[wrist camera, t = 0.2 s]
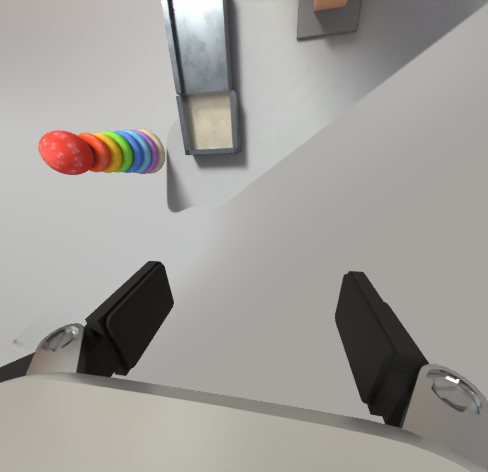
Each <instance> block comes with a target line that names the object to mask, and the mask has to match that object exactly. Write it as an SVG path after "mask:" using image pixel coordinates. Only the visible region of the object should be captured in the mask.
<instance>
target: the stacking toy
mask: <svg viewBox="0 0 488 472" xmlns="http://www.w3.org/2000/svg"><path fill="white" fill-rule="evenodd" d="M38 149H39V153H40V155H41V157H42V159H43V160H44V161H45V162H46V164H47V165H49V166H50V167H51V168H52V169H54V170H56V171H58V172H60V173H64V174H68V175H78V174H82V173H85V172H86V171H88V170H90V171H93V172H101V171H102V172H106V173H107V172H108V173H111V172H125V173H131V172H133V173H140V174H146V173H155V172H157V171H158V170H160V169H161V168H162V166H163V164H164V161H165V151H164V147H163V145H162V143H161V142H160V140H159V138H157V136H156V135H155V134H153V133H152V132H150V131H148V130H145V129H136V130H121V131H113V132H111V131H105V132H102V133H93V134H90V133H80V134H78V135H75V134H72V133H70V132H66V131H52V132H48V133H46V134H45V135H44V136H42V138H41V139H40V141H39V145H38Z"/></svg>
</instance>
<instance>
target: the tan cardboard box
mask: <svg viewBox="0 0 488 472" xmlns="http://www.w3.org/2000/svg"><path fill="white" fill-rule="evenodd" d="M347 1H348V0H314V11H318V10H325V9H331V8H338V7H344V6H345V5H346V3H347Z"/></svg>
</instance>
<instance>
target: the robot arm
mask: <svg viewBox="0 0 488 472" xmlns="http://www.w3.org/2000/svg"><path fill="white" fill-rule="evenodd" d="M173 304H174V301H173V297H172V293H171V289H170V286H169V282H168V278H167V274H166V270H165V267H164V265H163V264H162V263H161V262H158V261H149V262H147V263H146V264H145V265H144V266H143V267H142V268H141V269H140V270H138V271H137V272H136V273H135V274H134V275H133V276H132V277H131V278H130V279H129V280H128V281H127V282H125V283H124V284H123V285H122V286H121V287H120V288H119V289H118V290H117V291H115V293H113V294H112V295H111V296H110V297H109V298H108V299H107V300H106V301H105V302H104V303H102V304H101V305H100V306H99V307H98V308H97V309H96V310H95V311H94V312H93V313H91V314H90V315H89V316H88V317H87V318H86V319H85V320H86V322H87V324H86V326H85V327H84V326H82V325H81V324H78V323H75V324H69V325H66V326H63V327H61V328H59V329H57V330H55V331H53V332H52V333H50V334H49V335H48V336H46V337H45V338H44V339H43V340H42V341H41V342H40V344H39V345H38V347H37V349H36V351H35V352H34V353H32V354H30V355H28V356H25V357H23V358H21V359H18V360H16V361H14V362H12V363H9V364H7V365H5V366H2V367H1V368H0V472H488V401H487V400H486V398H485V396H484V395H483V394H482V393H481V392H480V391H479V390H478V388H477V387H476V386H475V385H473V384H472V383H471V382H470V381H469V380H467V379H466V378H465V377H463V376H461V375H460V374H458V373H457V372H455V371H453V370H451V369H449V368H447V367H444V366H440V365H437V364H429V363H428V361H427V360H426V358H425V357H424V355H423V354H422V353H421V351H420V350H419V348H418V347H417V345H416V344H415V342H414V341H413V340H412V338H411V337H410V335H409V334H408V332H407V331H406V329H405V328H404V327H403V325H402V324H401V322H400V321H399V319H398V318H397V316H396V315H395V314H394V312H393V311H392V309H391V308H390V306H389V305H388V304H387V303H385V302H383V300H382V299H381V298H380V296H379V294H378V293H377V291H376V290H375V288H374V287H373V285H372V284H371V282H370V281H369V279H368V278H367V277H366V275H365V274H364V272H355V271H354V272H353V271H349V272H348V274H345V275H344V277H343V282H342V286H341V291H340V296H339V300H338V304H337V309H336V313H335V321H336V324H337V328H338V331H339V334H340V337H341V340H342V343H343V346H344V349H345V352H346V355H347V358H348V361H349V364H350V367H351V370H352V373H353V376H354V379H355V382H356V385H357V388H358V391H359V394H360V397H361V400H362V402H364V403H366V404H367V405H368V408H369V411H370V414H372V415H377V416H382V417H383V419H384V422H385V424H381V423H377V422H373V421H369V420H364V419H359V418H354V417H348V416H343V415H338V414H332V413H327V412H321V411H315V410H310V409H304V408H298V407H292V406H286V405H280V404H274V403H268V402H262V401H256V400H250V399H244V398H238V397H232V396H225V395H219V394H213V393H207V392H200V391H194V390H188V389H182V388H176V387H169V386H163V385H157V384H150V383H144V382H137V381H131V380H123V379H118V378H111V376H112V374H113V373H114V372H115V374H118V375H124V376H126V375H127V374H128V372H129V371H130V369H131V368H133V367H134V366H135V365H136V364H137V362H138V361H139V359H140V358H141V356H142V354H143V353H144V351H145V350H146V348H147V347H148V345H149V343H150V342H151V340H152V339H153V337H154V336H155V334H156V332H157V331H158V329H159V328H160V326H161V325H162V323H163V321H164V320H165V318H166V317H167V315H168V314H169V312H170V311H171V309H172V307H173Z"/></svg>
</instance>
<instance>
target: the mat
mask: <svg viewBox="0 0 488 472" xmlns="http://www.w3.org/2000/svg"><path fill="white" fill-rule="evenodd" d="M360 5H361V0H348V1H347V3H346V5H345V6H344V7H338V8H331V9H325V10H318V11H314V0H299V9H298V28H297V39H301V38H309V37H316V36H324V35H331V34H339V33H346V32H354V31H356V30H357V25H358V19H359V12H360Z"/></svg>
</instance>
